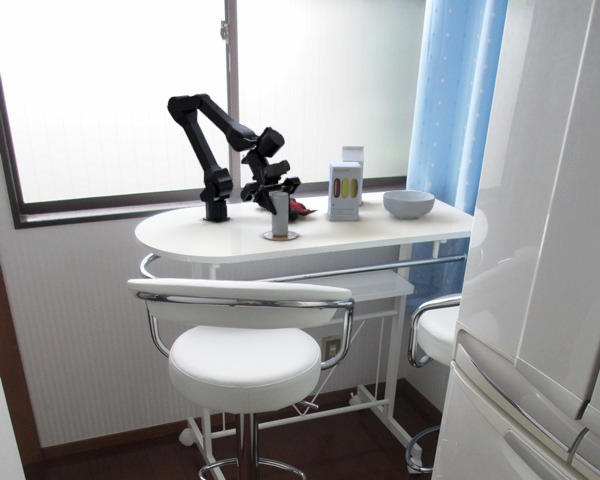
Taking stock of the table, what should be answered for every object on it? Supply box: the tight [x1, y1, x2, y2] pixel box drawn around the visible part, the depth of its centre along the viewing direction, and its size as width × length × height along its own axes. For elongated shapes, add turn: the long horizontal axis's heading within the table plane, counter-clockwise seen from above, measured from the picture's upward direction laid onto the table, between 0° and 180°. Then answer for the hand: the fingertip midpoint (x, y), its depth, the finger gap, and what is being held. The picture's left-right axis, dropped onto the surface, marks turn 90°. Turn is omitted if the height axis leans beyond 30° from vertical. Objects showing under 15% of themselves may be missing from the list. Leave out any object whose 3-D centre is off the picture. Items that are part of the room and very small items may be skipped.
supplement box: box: [327, 161, 361, 222], centre depth 219 cm, size 10×9×17 cm
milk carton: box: [341, 145, 365, 206], centre depth 236 cm, size 7×7×19 cm
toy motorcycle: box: [257, 195, 318, 223], centre depth 227 cm, size 25×5×16 cm
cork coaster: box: [263, 230, 298, 242], centre depth 204 cm, size 10×10×1 cm
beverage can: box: [271, 191, 289, 237], centre depth 201 cm, size 5×5×12 cm
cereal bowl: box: [382, 189, 436, 221], centre depth 223 cm, size 17×17×7 cm
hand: (283, 213), depth 199 cm, fingers closed on beverage can, 5 cm apart
